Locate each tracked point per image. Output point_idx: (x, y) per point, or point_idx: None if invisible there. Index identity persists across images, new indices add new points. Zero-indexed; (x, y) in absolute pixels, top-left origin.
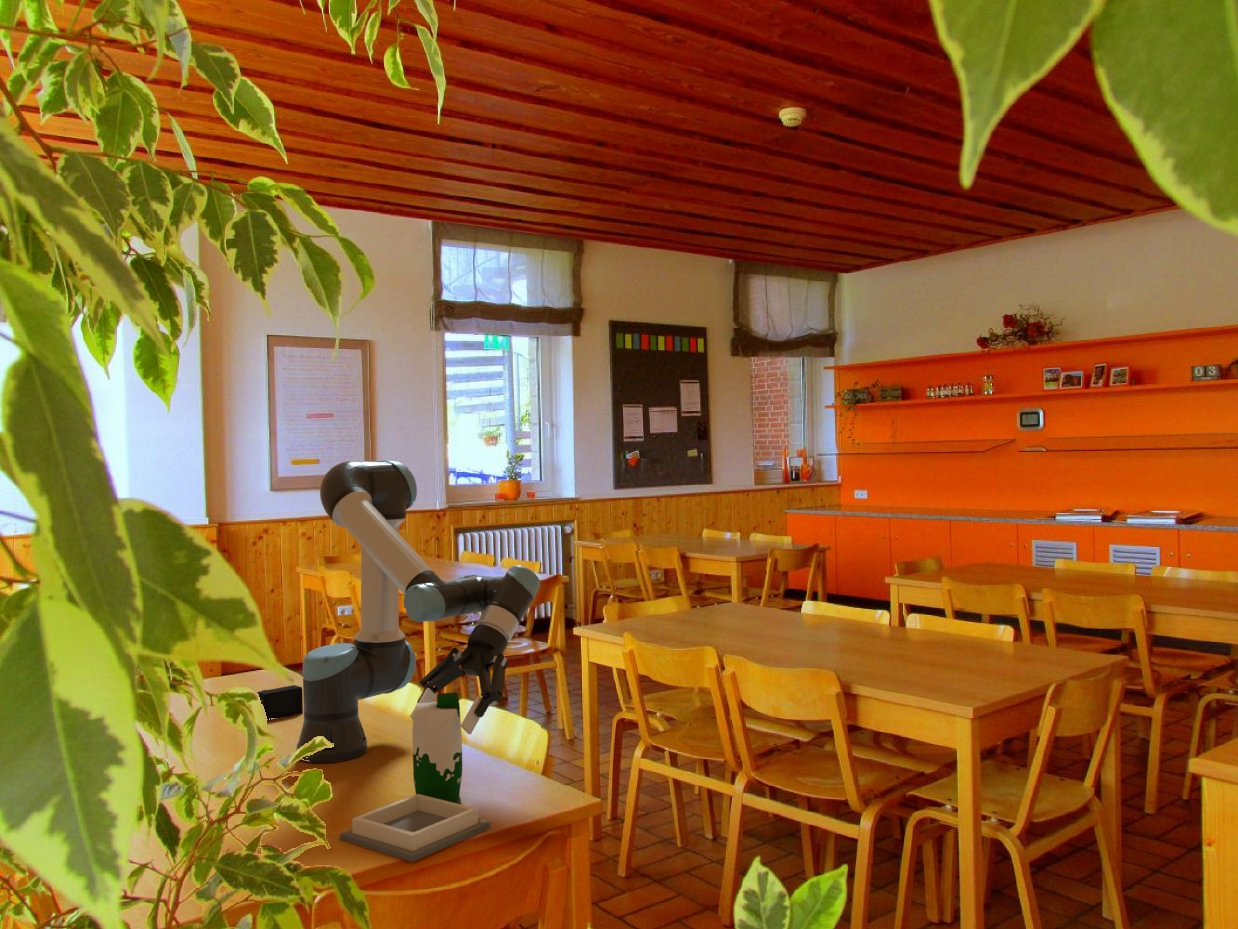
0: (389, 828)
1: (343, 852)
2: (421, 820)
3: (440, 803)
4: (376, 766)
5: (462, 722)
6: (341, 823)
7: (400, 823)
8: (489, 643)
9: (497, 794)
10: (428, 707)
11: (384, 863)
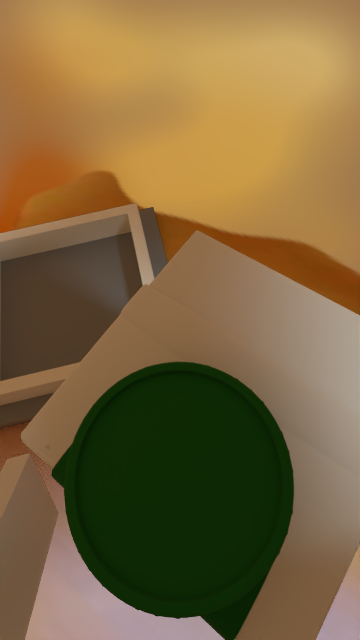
0: (37, 226)
1: (103, 202)
2: (98, 330)
3: (78, 363)
4: None
5: (20, 470)
6: (229, 241)
7: (117, 294)
8: None
9: (150, 621)
10: (253, 343)
11: (16, 225)
